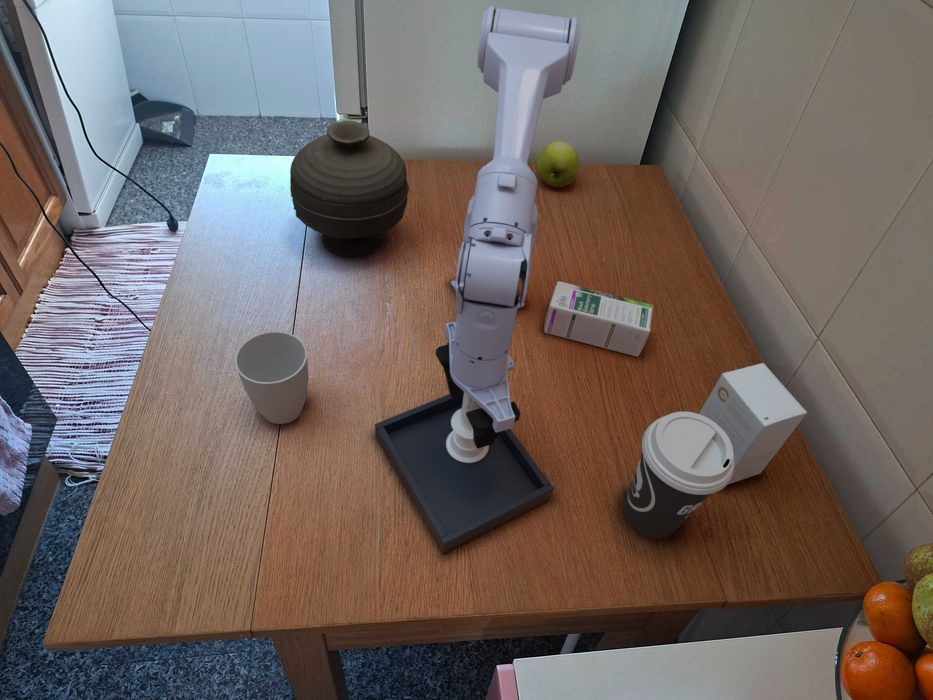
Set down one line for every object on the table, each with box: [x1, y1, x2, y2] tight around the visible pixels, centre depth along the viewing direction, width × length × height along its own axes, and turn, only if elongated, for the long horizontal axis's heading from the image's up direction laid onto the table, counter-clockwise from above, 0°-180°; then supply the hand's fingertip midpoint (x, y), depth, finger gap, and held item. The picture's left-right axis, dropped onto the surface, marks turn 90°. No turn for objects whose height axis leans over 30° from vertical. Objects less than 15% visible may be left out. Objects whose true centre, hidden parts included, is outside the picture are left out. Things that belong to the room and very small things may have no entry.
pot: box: [289, 120, 410, 260], centre depth 99 cm, size 18×18×20 cm
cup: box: [234, 330, 309, 425], centre depth 79 cm, size 8×8×10 cm
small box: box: [698, 362, 808, 486], centre depth 79 cm, size 8×6×13 cm
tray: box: [374, 393, 554, 555], centre depth 78 cm, size 18×15×3 cm
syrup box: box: [543, 280, 654, 357], centre depth 94 cm, size 6×6×14 cm
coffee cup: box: [623, 411, 734, 540], centre depth 71 cm, size 10×10×15 cm
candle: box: [446, 392, 489, 463], centre depth 76 cm, size 5×5×12 cm
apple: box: [536, 140, 580, 188], centre depth 120 cm, size 8×9×8 cm
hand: (470, 418), depth 76 cm, fingers open, 7 cm apart
